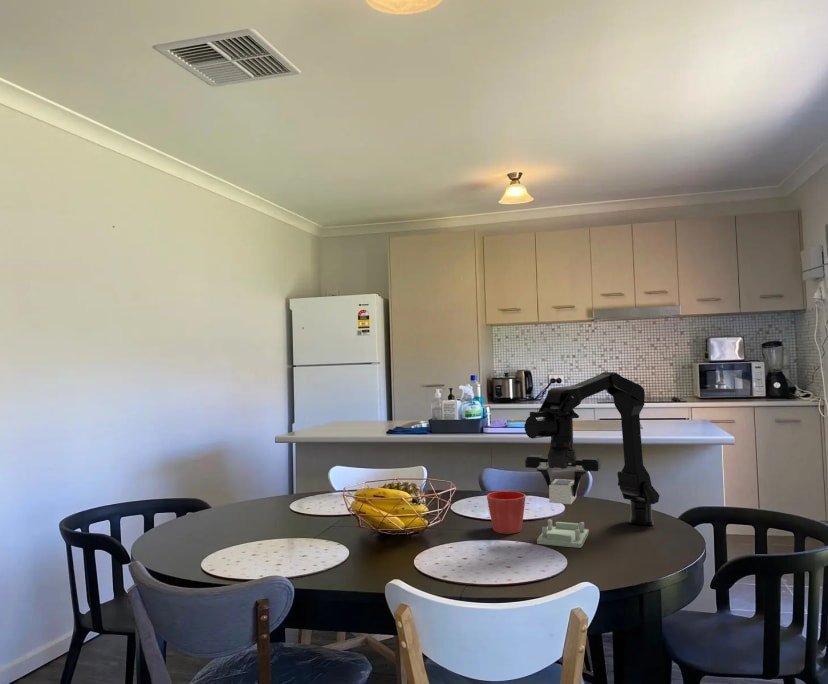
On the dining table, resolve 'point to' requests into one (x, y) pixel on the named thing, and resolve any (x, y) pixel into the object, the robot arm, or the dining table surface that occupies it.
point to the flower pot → (506, 511)
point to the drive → (561, 491)
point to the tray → (563, 534)
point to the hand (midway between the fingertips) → (563, 495)
